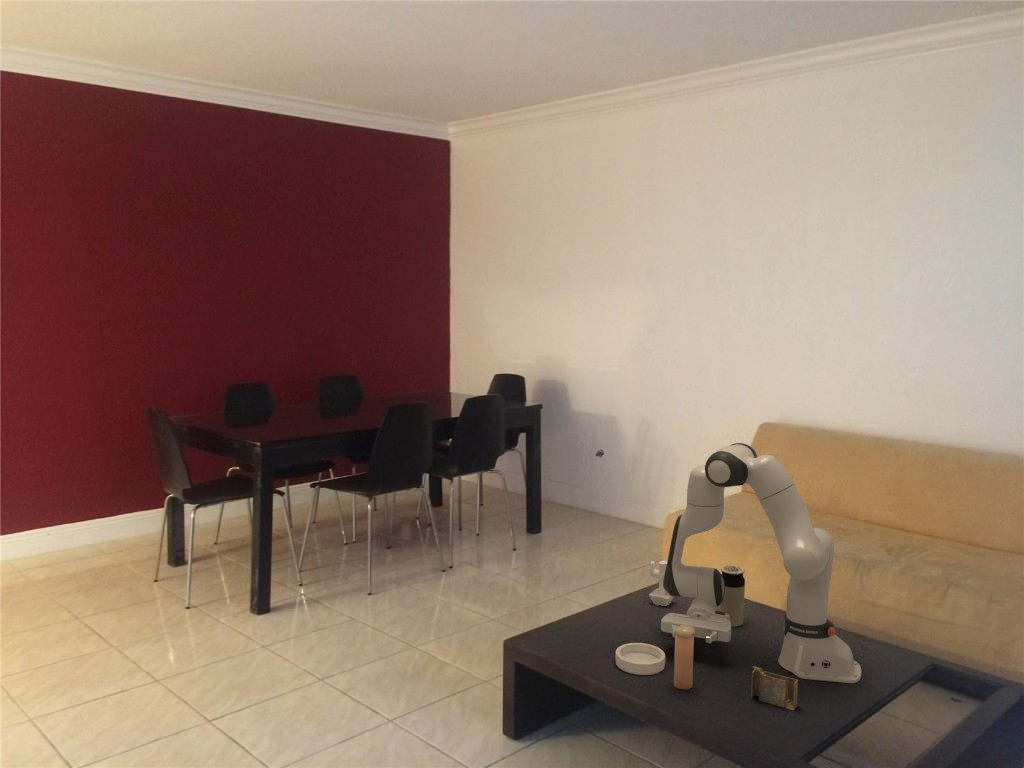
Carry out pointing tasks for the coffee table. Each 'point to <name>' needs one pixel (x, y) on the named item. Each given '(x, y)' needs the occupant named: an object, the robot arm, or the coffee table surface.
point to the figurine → (659, 594)
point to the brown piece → (774, 688)
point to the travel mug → (733, 594)
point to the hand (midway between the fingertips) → (691, 637)
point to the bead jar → (683, 656)
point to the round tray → (640, 658)
